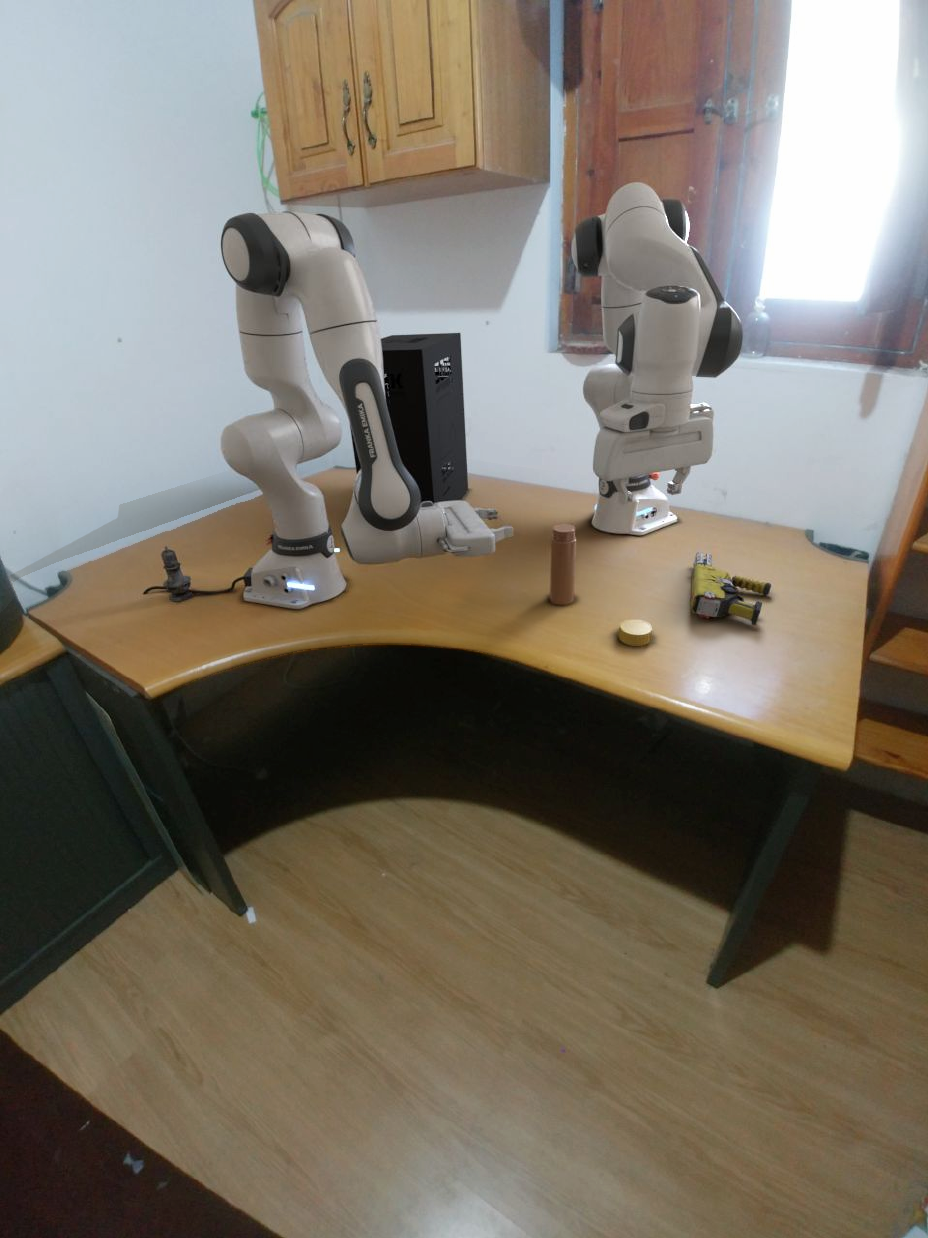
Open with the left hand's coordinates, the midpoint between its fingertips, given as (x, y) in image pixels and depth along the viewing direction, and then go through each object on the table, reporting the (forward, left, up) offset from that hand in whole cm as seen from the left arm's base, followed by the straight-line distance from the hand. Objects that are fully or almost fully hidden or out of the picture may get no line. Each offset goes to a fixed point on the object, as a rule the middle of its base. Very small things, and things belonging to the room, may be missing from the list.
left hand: (504, 521), depth 113 cm
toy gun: (+45, +9, -19) cm, 49 cm away
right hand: (+25, -9, +8) cm, 28 cm away
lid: (+25, -8, -17) cm, 31 cm away
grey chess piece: (-73, -1, -19) cm, 76 cm away
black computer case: (-32, +58, -19) cm, 69 cm away
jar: (+11, +5, -19) cm, 22 cm away
